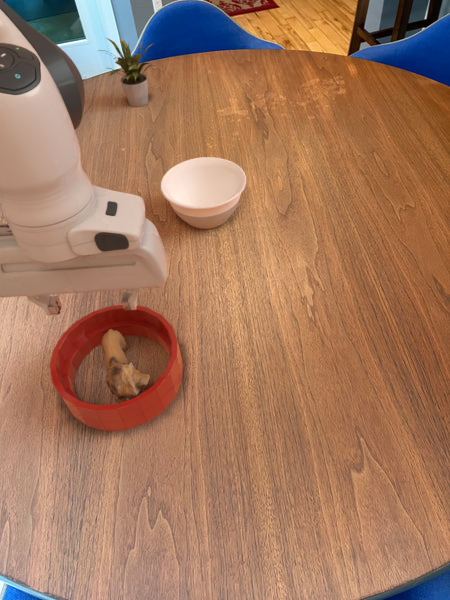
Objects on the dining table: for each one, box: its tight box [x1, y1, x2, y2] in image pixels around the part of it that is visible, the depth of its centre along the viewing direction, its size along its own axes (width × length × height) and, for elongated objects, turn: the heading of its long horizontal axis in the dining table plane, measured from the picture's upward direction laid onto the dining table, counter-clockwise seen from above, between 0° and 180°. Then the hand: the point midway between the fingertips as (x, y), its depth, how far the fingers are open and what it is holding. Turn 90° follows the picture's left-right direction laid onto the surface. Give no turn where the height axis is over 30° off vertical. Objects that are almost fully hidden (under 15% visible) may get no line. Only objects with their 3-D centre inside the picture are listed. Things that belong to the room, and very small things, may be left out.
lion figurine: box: [101, 329, 151, 404], centre depth 67 cm, size 15×5×9 cm, turn 30°
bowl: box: [160, 156, 247, 230], centre depth 91 cm, size 16×16×9 cm
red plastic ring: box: [49, 304, 184, 432], centre depth 69 cm, size 18×18×6 cm
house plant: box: [98, 37, 155, 108], centre depth 123 cm, size 14×14×16 cm
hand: (93, 308), depth 59 cm, fingers open, 8 cm apart
